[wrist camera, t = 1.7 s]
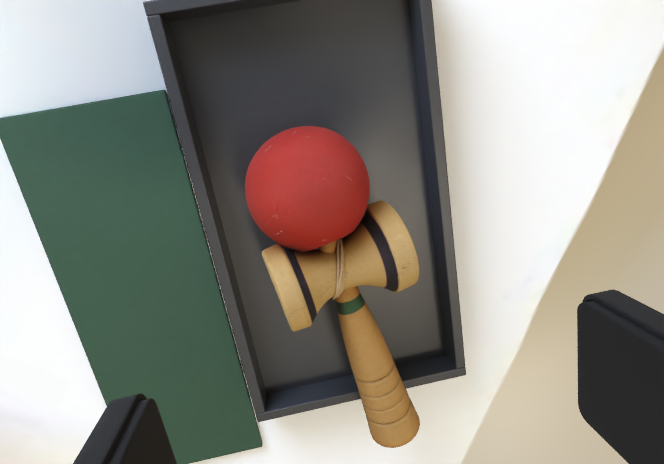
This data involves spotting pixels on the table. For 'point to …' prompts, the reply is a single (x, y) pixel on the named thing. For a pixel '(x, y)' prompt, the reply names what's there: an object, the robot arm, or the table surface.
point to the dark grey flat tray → (343, 118)
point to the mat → (135, 264)
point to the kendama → (335, 257)
